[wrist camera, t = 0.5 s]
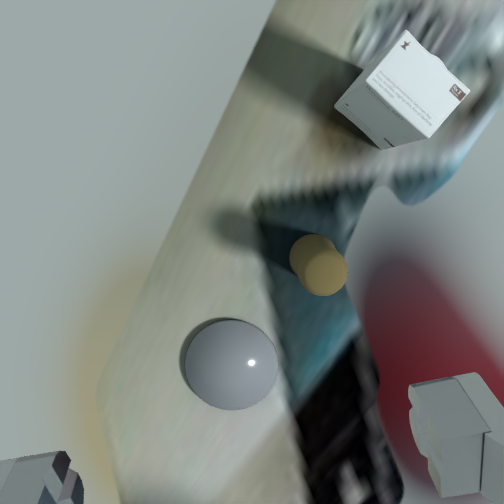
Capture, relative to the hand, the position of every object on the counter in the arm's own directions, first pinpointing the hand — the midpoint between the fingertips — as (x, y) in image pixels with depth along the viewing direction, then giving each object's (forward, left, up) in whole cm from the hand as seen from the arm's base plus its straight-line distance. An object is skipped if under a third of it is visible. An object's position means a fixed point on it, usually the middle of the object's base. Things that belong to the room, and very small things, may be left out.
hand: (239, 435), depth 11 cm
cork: (-7, -3, -48) cm, 48 cm away
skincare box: (+2, -20, -48) cm, 52 cm away
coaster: (-11, +14, -48) cm, 51 cm away
